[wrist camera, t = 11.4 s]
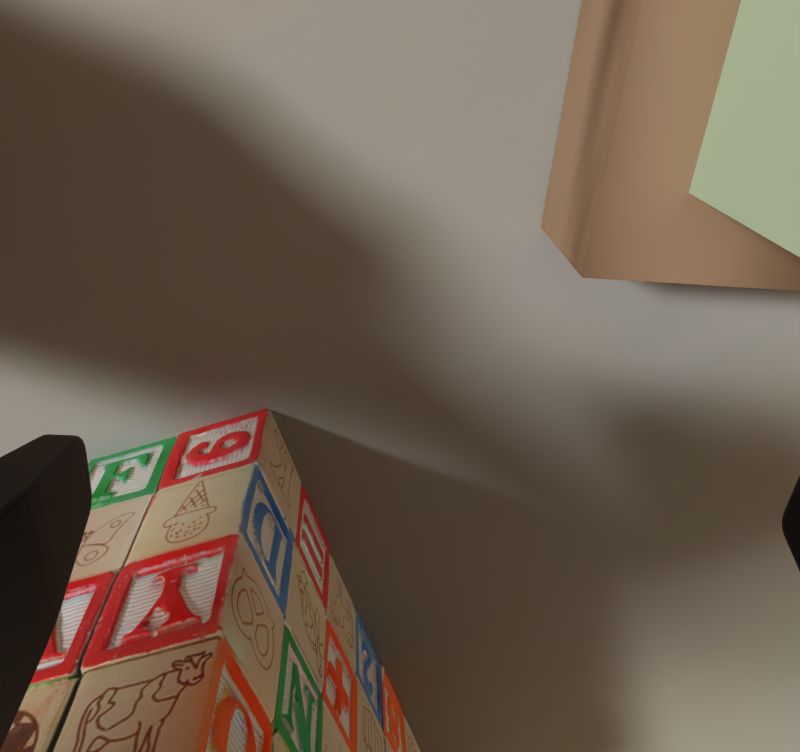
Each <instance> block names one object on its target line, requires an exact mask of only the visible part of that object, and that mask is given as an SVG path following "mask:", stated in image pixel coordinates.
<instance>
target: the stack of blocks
mask: <svg viewBox="0 0 800 752" xmlns="http://www.w3.org/2000/svg"><path fill="white" fill-rule="evenodd" d="M88 469H89V476H90V483H91V490H92V505H91V511H90V515H89V518H88V521H87V525H86V528H85V531H84V534H83V538H82V541H81V544H80V548H79V551H78V554H77V557H76V561H75V564H74V567H73V570H72V574H71V577H70V580H69V584H68V587H67V590H66V593H65V597H64V600H63V603H62V606H61V610H60V613H59V616H58V619H57V622H56V625H55V627H54V630H53V632H52V635H51V637H50V639H49V642H48V644H47V647H46V649H45V651H44V653H43V656H42V658H41V660H40V663H39V665H38V667H37V669H36V672H35V674H34V676H33V678H32V681H31V683H30V685H29V687H28V690H27V692H26V694H25V696H24V699H23V701H22V703H21V705H20V708H19V710H18V712H17V715H16V717H15V719H14V721H13V724H12V726H11V728H10V730H9V733H8V735H7V737H6V739H5V742H4V744H3V746H2V748H1V751H0V752H421V751H420V749H419V747H418V744H417V742H416V740H415V738H414V735H413V733H412V731H411V729H410V727H409V724H408V722H407V720H406V718H405V716H404V715H403V712H402V708H401V706H400V703H399V701H398V699H397V697H396V694H395V692H394V690H393V687H392V685H391V683H390V680H389V678H388V676H387V674H386V672H385V669H384V667H383V666H382V665H380V664H379V661H378V658H377V656H376V653H375V651H374V649H373V647H372V645H371V643H370V640H369V638H368V636H367V634H366V631H365V629H364V627H363V624H362V622H361V620H360V617H359V615H358V613H357V612H356V611H355V609H354V606H353V603H352V601H351V599H350V597H349V594H348V592H347V590H346V588H345V585H344V583H343V581H342V579H341V576H340V574H339V572H338V570H337V568H336V565H335V563H334V561H333V559H332V557H331V555H330V547H329V545H328V543H327V540H326V538H325V535H324V533H323V531H322V529H321V526H320V524H319V522H318V520H317V517H316V515H315V513H314V510H313V508H312V506H311V504H310V501H309V499H308V497H307V494H306V492H305V490H304V488H303V485H302V484H301V481H300V477H299V475H298V472H297V470H296V468H295V465H294V463H293V461H292V458H291V456H290V454H289V451H288V449H287V447H286V444H285V442H284V440H283V438H282V435H281V433H280V431H279V429H278V426H277V424H276V422H275V419H274V417H273V415H272V413H271V412H270V410H269V409H265V410H261V411H258V412H254V413H250V414H247V415H244V416H240V417H237V418H233V419H230V420H226V421H223V422H219V423H216V424H212V425H209V426H206V427H202V428H199V429H196V430H192V431H189V432H185V433H182V434H180V435H178V436H177V437H173V438H170V439H166V440H162V441H159V442H155V443H152V444H148V445H145V446H141V447H138V448H134V449H131V450H127V451H123V452H120V453H117V454H113V455H110V456H106V457H102V458H98V459H95V460H92V461H90V462H89V463H88Z"/></svg>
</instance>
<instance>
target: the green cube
mask: <svg viewBox="0 0 800 752" xmlns="http://www.w3.org/2000/svg"><path fill="white" fill-rule="evenodd" d="M689 193H690V194H691V195H693V196H695V197H697V198H698V199H700V200H702V201H704V202H705V203H707V204H709V205H710V206H712V207H714V208H716V209H717V210H719V211H721V212H722V213H724V214H726V215H728V216H729V217H731V218H733V219H735V220H736V221H738V222H740V223H741V224H743V225H745V226H747V227H748V228H750V229H752V230H753V231H755V232H757V233H759V234H760V235H762V236H764V237H766V238H767V239H769V240H771V241H772V242H774V243H776V244H778V245H779V246H781V247H783V248H784V249H786V250H788V251H790V252H791V253H793V254H795V255H797V256H798V257H800V0H741V3H740V6H739V10H738V14H737V17H736V21H735V25H734V28H733V32H732V36H731V39H730V43H729V47H728V50H727V54H726V58H725V61H724V65H723V69H722V72H721V76H720V80H719V83H718V87H717V91H716V94H715V98H714V102H713V105H712V109H711V113H710V116H709V120H708V124H707V127H706V131H705V135H704V138H703V142H702V146H701V149H700V153H699V157H698V160H697V164H696V168H695V171H694V175H693V179H692V182H691V186H690V190H689Z"/></svg>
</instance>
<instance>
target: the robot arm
mask: <svg viewBox="0 0 800 752" xmlns="http://www.w3.org/2000/svg"><path fill="white" fill-rule="evenodd" d="M91 505H92V490H91V483H90V476H89V469H88V462H87V454H86V448H85V445H84V442H83V440H82V439H81V438H80V437H78V436H73V435H43V436H41V437H39V438H37V439H35V440H33V441H31V442H29V443H27V444H25V445H23V446H21V447H19V448H17V449H16V450H14V451H12V452H10V453H8V454H6V455H4V456H2V457H0V751H1V748H2V746H3V744H4V742H5V739H6V737H7V735H8V733H9V730H10V728H11V726H12V724H13V721H14V719H15V717H16V715H17V712H18V710H19V708H20V705H21V703H22V701H23V699H24V696H25V694H26V692H27V690H28V687H29V685H30V683H31V681H32V678H33V676H34V674H35V672H36V669H37V667H38V665H39V663H40V660H41V658H42V656H43V653H44V651H45V649H46V647H47V644H48V642H49V639H50V637H51V635H52V632H53V630H54V627H55V625H56V622H57V619H58V616H59V613H60V610H61V606H62V603H63V600H64V597H65V593H66V590H67V587H68V584H69V580H70V577H71V574H72V570H73V567H74V564H75V561H76V557H77V554H78V551H79V548H80V544H81V541H82V538H83V534H84V531H85V528H86V525H87V521H88V518H89V515H90V511H91ZM782 528H783V533H784V536H785V538H786V541H787V543H788V545H789V548H790V550H791V552H792V554H793V557H794V559H795V561H796V564H797V566H798V568H799V571H800V476H799V478H798V480H797V483H796V485H795V487H794V490H793V492H792V494H791V497H790V499H789V502H788V504H787V506H786V509H785V511H784V514H783V518H782Z"/></svg>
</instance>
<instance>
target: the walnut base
mask: <svg viewBox="0 0 800 752" xmlns="http://www.w3.org/2000/svg"><path fill="white" fill-rule="evenodd" d="M740 3H741V0H582V6H581V11H580V17H579V22H578V28H577V33H576V39H575V44H574V50H573V55H572V61H571V66H570V72H569V77H568V83H567V88H566V94H565V99H564V105H563V110H562V116H561V121H560V127H559V132H558V138H557V143H556V149H555V154H554V160H553V165H552V171H551V176H550V182H549V187H548V193H547V198H546V204H545V209H544V215H543V220H542V226H541V228H542V229H543V230H544V232H545V233H546V234H547V235H548V236H549V238H550V239H551V240H552V241H553V243H554V244H555V245H556V246H557V247H558V249H559V250H560V251H561V252H562V253H563V255H564V256H565V257H566V258H567V259H568V261H569V262H570V263H571V264H572V266H573V267H574V268H575V269H576V270H577V272H578V273H579V274H580V275H581V276H582V277H583V278H599V279H615V280H631V281H647V282H663V283H679V284H695V285H711V286H727V287H743V288H759V289H775V290H791V291H800V257H798V256H797V255H795V254H793V253H791V252H790V251H788V250H786V249H784V248H783V247H781V246H779V245H778V244H776V243H774V242H772V241H771V240H769V239H767V238H766V237H764V236H762V235H760V234H759V233H757V232H755V231H753V230H752V229H750V228H748V227H747V226H745V225H743V224H741V223H740V222H738V221H736V220H735V219H733V218H731V217H729V216H728V215H726V214H724V213H722V212H721V211H719V210H717V209H716V208H714V207H712V206H710V205H709V204H707V203H705V202H704V201H702V200H700V199H698V198H697V197H695V196H693V195H691V194H690V193H689V190H690V186H691V182H692V179H693V175H694V171H695V168H696V164H697V160H698V157H699V153H700V149H701V146H702V142H703V138H704V135H705V131H706V127H707V124H708V120H709V116H710V113H711V109H712V105H713V102H714V98H715V94H716V91H717V87H718V83H719V80H720V76H721V72H722V69H723V65H724V61H725V58H726V54H727V50H728V47H729V43H730V39H731V36H732V32H733V28H734V25H735V21H736V17H737V14H738V10H739V6H740Z"/></svg>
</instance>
